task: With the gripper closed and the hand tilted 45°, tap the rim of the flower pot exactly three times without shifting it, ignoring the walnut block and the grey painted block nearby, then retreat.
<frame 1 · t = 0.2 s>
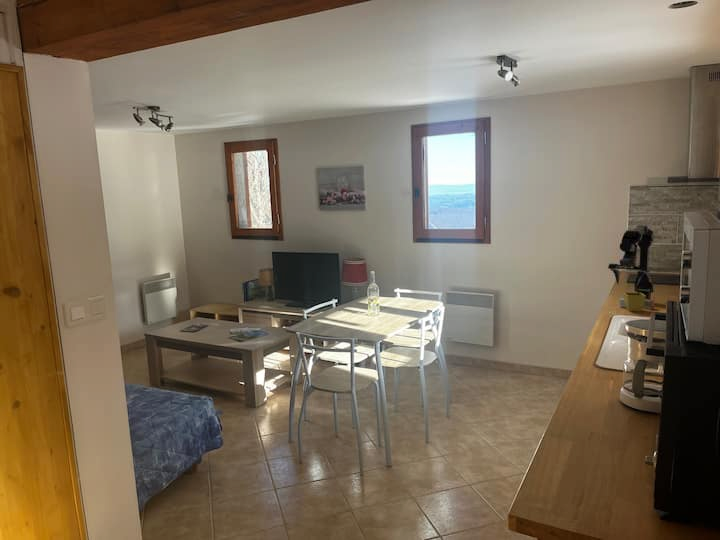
hand: (627, 284, 276), 15 cm above the counter, tool pointing down, fingers open, 9 cm apart
flower pot: (633, 310, 284), on the counter
grey block: (624, 307, 293), on the counter
walnut block: (647, 308, 288), on the counter
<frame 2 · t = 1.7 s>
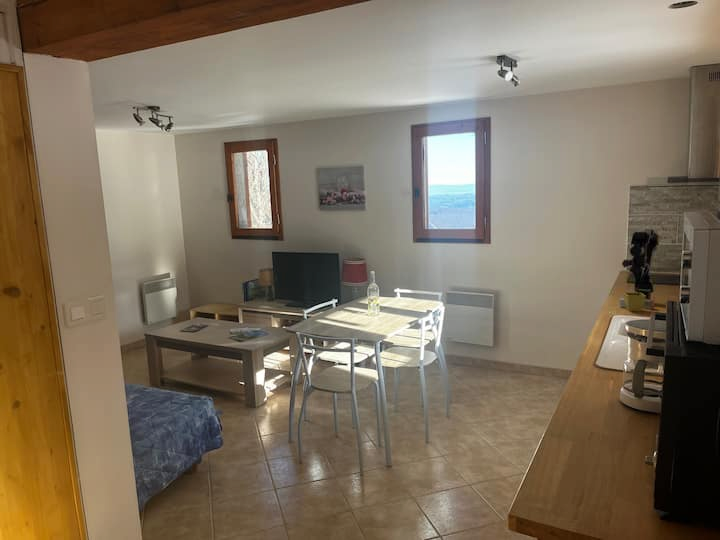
hand: (638, 283, 291), 13 cm above the counter, tool pointing down, fingers open, 6 cm apart
nothing on the counter moved.
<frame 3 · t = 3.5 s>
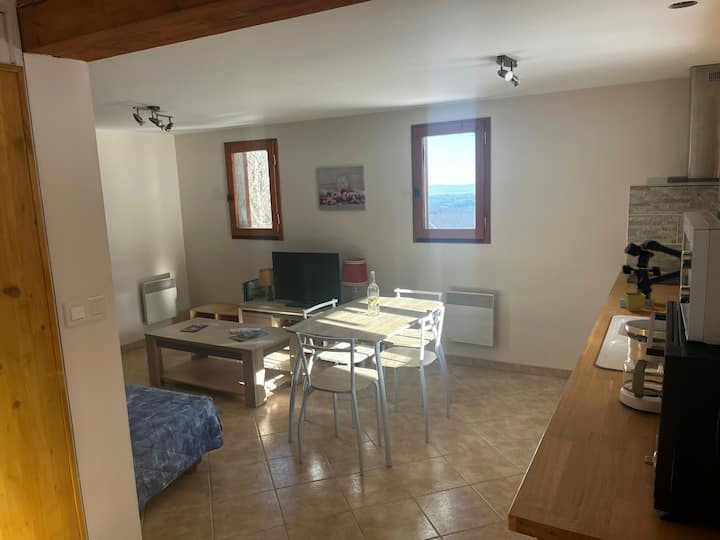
hand: (638, 282, 291), 13 cm above the counter, tool tilted 45°, fingers closed
nothing on the counter moved.
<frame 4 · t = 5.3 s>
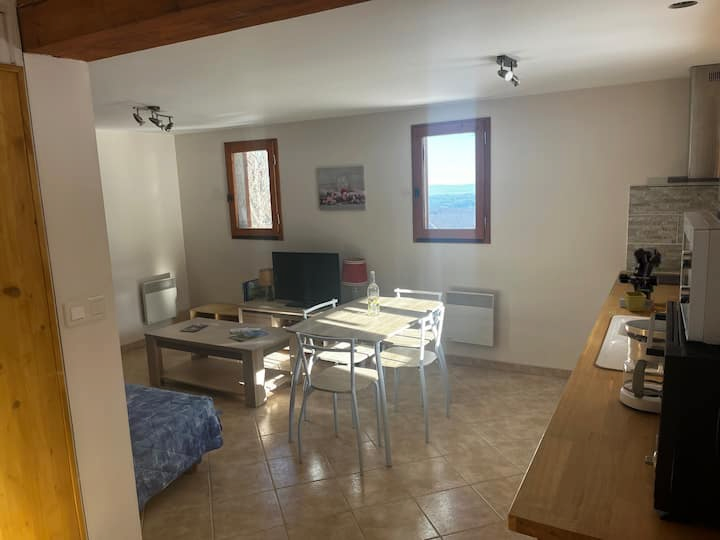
hand: (635, 291, 286), 9 cm above the counter, tool tilted 45°, fingers closed
flower pot: (633, 310, 284), on the counter, touching gripper
everything else where it was.
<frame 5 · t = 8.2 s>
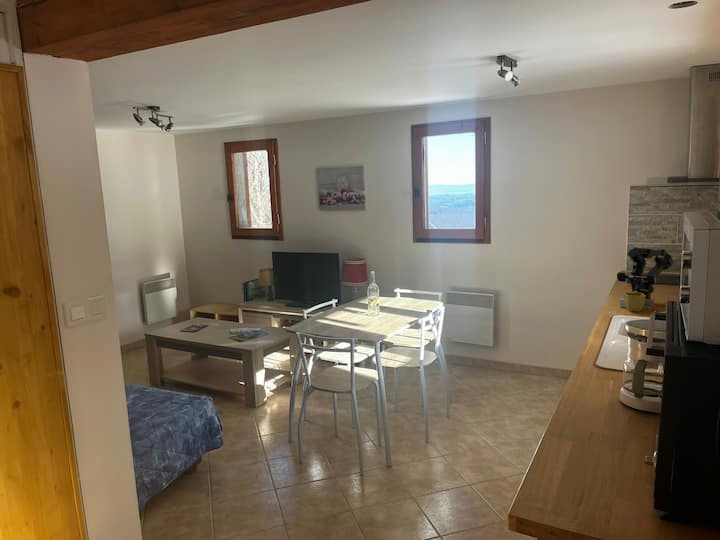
hand: (632, 291, 289), 9 cm above the counter, tool tilted 40°, fingers closed
flower pot: (633, 310, 284), on the counter
everything else where it was.
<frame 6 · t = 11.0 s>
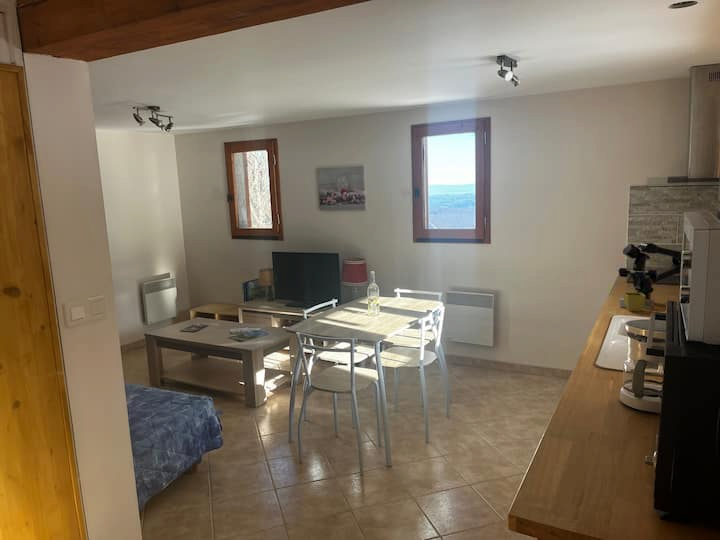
hand: (635, 286, 292), 11 cm above the counter, tool tilted 40°, fingers closed
nothing on the counter moved.
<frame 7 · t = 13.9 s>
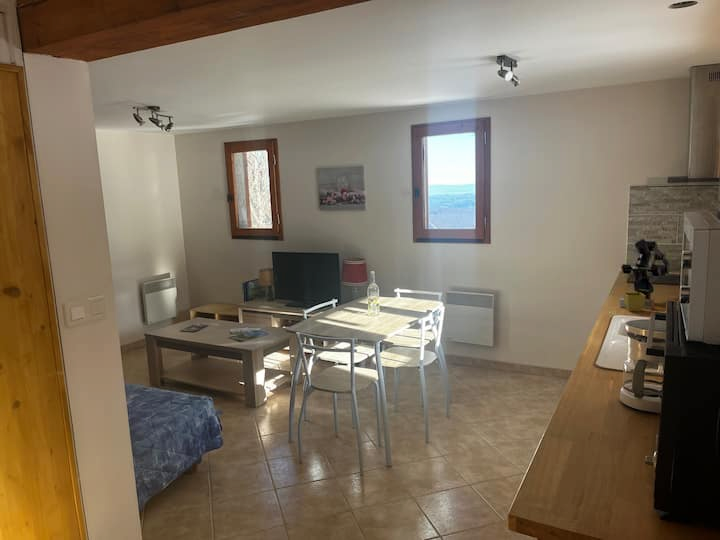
hand: (636, 282, 292), 13 cm above the counter, tool tilted 45°, fingers closed
nothing on the counter moved.
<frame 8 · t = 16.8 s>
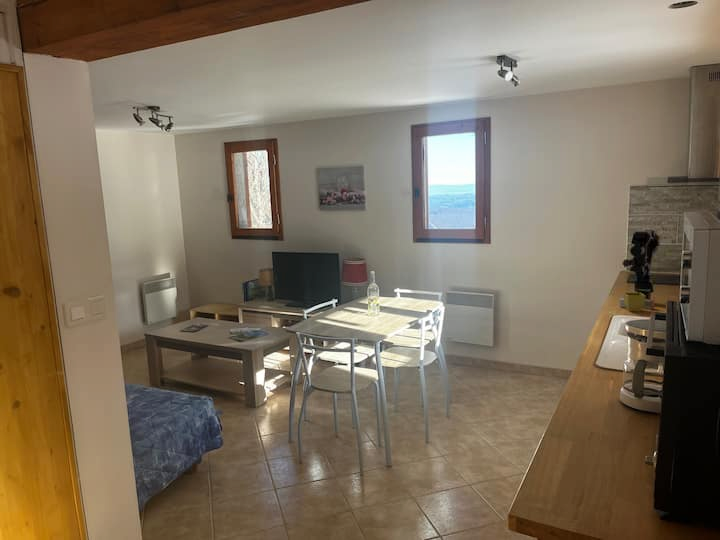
hand: (639, 282, 292), 13 cm above the counter, tool pointing down, fingers closed
nothing on the counter moved.
at the end: flower pot moved 0.3 cm from its start; flower pot tilted 0°; flower pot touching counter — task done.
